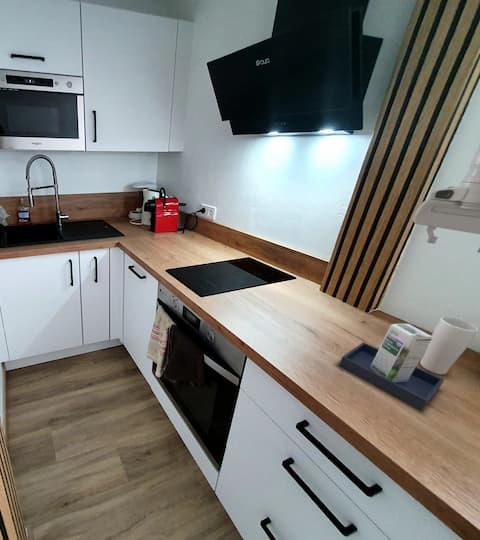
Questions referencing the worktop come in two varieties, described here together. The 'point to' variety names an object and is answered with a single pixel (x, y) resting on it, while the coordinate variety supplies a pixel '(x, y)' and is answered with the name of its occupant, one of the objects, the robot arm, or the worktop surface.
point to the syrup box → (400, 352)
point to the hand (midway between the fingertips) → (455, 247)
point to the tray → (411, 392)
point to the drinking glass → (447, 344)
